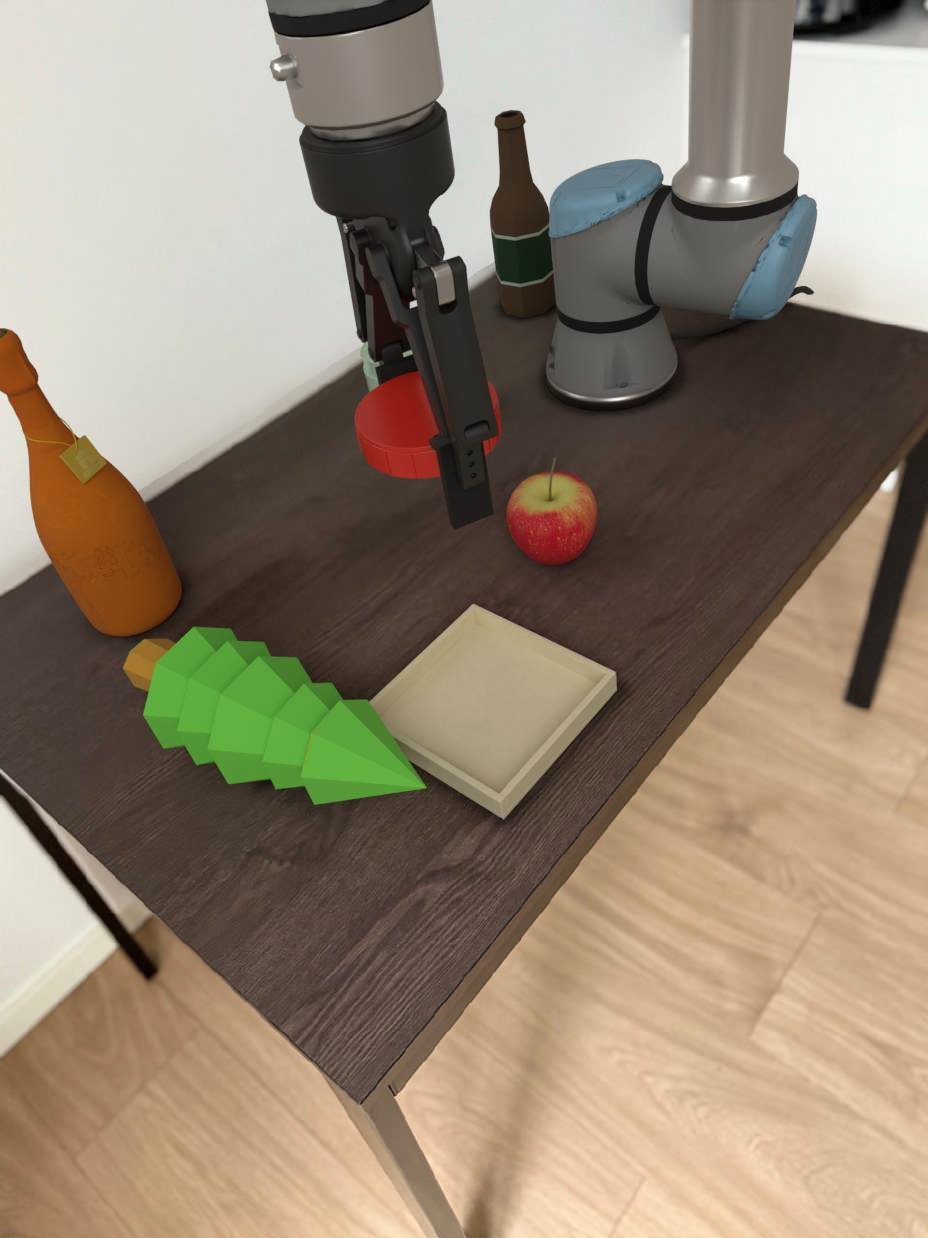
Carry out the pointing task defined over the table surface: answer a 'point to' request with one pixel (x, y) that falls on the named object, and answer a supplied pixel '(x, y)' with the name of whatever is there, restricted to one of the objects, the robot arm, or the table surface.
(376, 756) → the decorative tree
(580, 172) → the robot arm
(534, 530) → the apple
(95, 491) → the wine bottle
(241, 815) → the table surface
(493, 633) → the tray
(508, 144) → the beer bottle
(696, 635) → the table surface
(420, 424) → the lid
